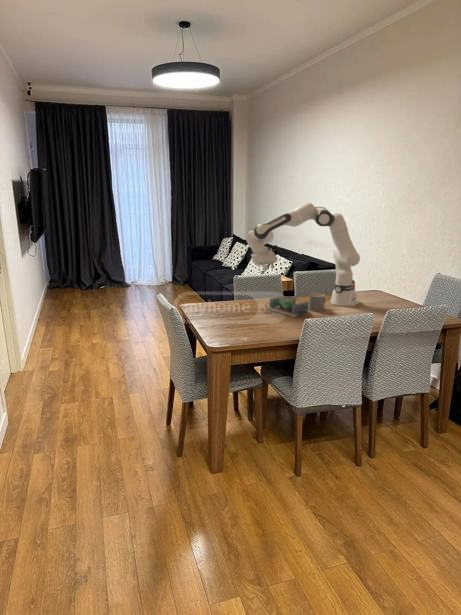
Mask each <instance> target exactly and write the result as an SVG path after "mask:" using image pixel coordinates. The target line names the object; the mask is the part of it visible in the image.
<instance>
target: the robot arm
mask: <svg viewBox="0 0 461 615" xmlns="http://www.w3.org/2000/svg"><path fill="white" fill-rule="evenodd" d="M310 220H313V221H314V222H315V223H316V224H317V225H318V226H319V227H328V228H329V230H330V234H331V238H332V241H333V242H332V243H333V245H334V246H335V247H336V249H334V251H333V253H332V254H333V259H334V264H335V283H334V287H333V288H334V289H333V290H332V293H331V294H332V295H331V298H330V300H329V302H330V303H331V304H332V305H333V306H334V305H335V306H339V307H355V306H357V305H358V304H360V303H361V301H360V300H358V294H357V292H355V291H354V290H353V289H354V288H355V287H356V285H355V284H353V274H354V273H353V271H352V267H356V266H357V265H358V264H360V262H361V261H360V260H361V255H360V254H359V253H358V252H357V250H356V247H355V246H354V244H353V242H352V240H351V237H350V233H349V229H348V225H347V222H346V220H345V218H344V216H343V214H341V213H331V212H330V211H329V209H328V208H326V207H324V206H315V205H314V204H313V203H312V202H307V203H304V204H301V205H299V206H297V207H295V208H294V209H292V210H290V211H288V212H286V213H284V214H281V215H279V216H277V217H275V218H273V219H271V220H268V221H267V222H262V223H259V224H257V225H255V227H254V229H253V230H249V232H247V233H246V235H245V241H246V243H247V244H248V246H249V248H250V249H251V252H252V253H251V254H250V256H251V260H252V262H253V265H255V266H256V267H257V266H262V267H263V269H265V270H266V271H267V270H269V268H271V269H272V270H273V269H275V268H276V267H275V265H274V264H276V263H277V261H278V257H277V255H276V253H275V252H274V251H273V249H272V248H271V247H268V246H265V245H267V244H269V243H271V242H272V241H273V239H274V232H273V231H274V230H277V229H278V228H280V227H284V226H289V227H292V228H293V227H294V228H295V227H298V226H300V225H301V226H302V224H304V223H306V222H307V221H310ZM268 265H270V266H268ZM356 304H357V305H356Z"/></svg>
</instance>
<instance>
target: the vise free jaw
mask: <svg viewBox="0 0 461 615" xmlns="http://www.w3.org/2000/svg"><path fill="white" fill-rule="evenodd" d="M280 296H281V297H287V296H286V295H280ZM278 298H279V296H276V297H272V298H269V306H270V307H272V308H273V307H275V308H278V307H280V302H279V299H278Z"/></svg>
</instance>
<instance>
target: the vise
mask: <svg viewBox="0 0 461 615" xmlns="http://www.w3.org/2000/svg"><path fill="white" fill-rule="evenodd" d="M266 309H267V310H270V311H272V312H277V313H279V314H283V315H285V316H289V317H292V318H297V317H298V316H301V315H304V314H310V313H311V310H309V301H306V300H305V301H302V302H297V303H295V304H293V305H292V312H289V311H286V310H282V309H280V307H279V308H278V307H273V308H272V307H270V305H269V306H267V308H266Z"/></svg>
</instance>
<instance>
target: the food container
mask: <svg viewBox="0 0 461 615" xmlns="http://www.w3.org/2000/svg"><path fill="white" fill-rule="evenodd" d="M281 296H282V295H279V296H278V297H279V298H278V299H279V302H280V306H279V309H282V310H286V311H289V312H292V305H293V304H296V302H297V300H298V297H297V296H286V297H281Z"/></svg>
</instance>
